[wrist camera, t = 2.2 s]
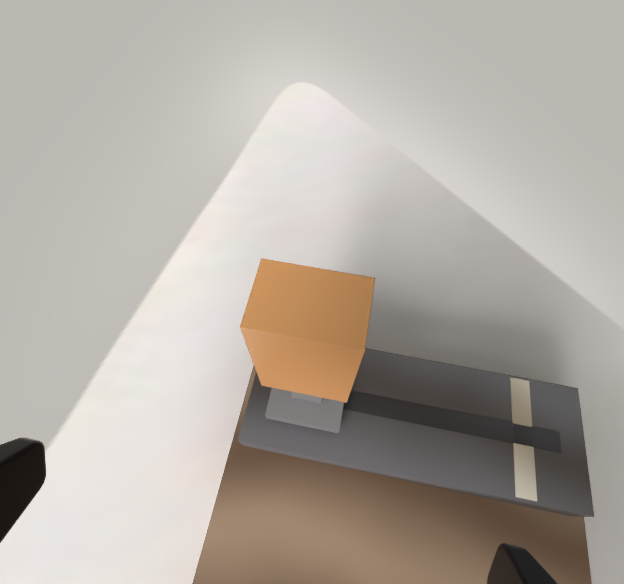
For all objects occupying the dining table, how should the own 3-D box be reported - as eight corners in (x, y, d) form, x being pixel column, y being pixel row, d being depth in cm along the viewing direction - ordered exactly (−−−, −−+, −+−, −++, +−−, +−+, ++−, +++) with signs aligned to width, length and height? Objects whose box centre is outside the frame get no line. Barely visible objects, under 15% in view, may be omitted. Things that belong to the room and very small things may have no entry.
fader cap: (338, 433, 16) (362, 370, 9) (266, 418, 16) (233, 346, 9) (349, 363, 18) (377, 261, 10) (283, 350, 18) (266, 243, 11)
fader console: (582, 719, 15) (643, 765, 12) (190, 618, 16) (166, 639, 13) (551, 396, 20) (588, 379, 18) (265, 342, 22) (260, 318, 19)
